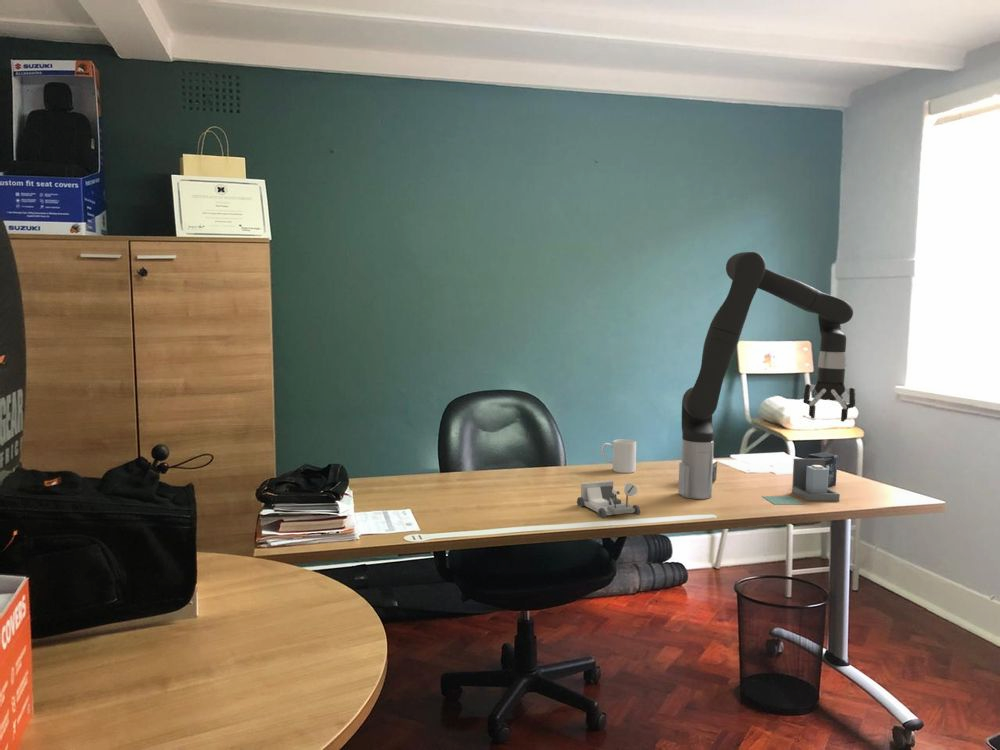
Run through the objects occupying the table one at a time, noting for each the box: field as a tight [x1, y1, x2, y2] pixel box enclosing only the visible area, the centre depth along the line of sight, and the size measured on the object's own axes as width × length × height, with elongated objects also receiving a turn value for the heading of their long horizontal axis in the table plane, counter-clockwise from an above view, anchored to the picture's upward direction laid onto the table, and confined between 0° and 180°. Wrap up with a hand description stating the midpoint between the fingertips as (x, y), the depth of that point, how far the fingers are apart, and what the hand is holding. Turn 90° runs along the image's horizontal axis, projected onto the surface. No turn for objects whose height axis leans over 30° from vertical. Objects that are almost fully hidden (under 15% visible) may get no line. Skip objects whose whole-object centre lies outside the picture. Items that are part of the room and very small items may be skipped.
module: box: [805, 465, 828, 493], centre depth 224 cm, size 4×4×10 cm
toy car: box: [576, 480, 641, 520], centre depth 207 cm, size 18×10×12 cm
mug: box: [601, 438, 637, 474], centre depth 258 cm, size 12×8×10 cm, turn 97°
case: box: [791, 458, 841, 502], centre depth 224 cm, size 11×11×11 cm
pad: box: [761, 495, 805, 506], centre depth 220 cm, size 9×9×1 cm
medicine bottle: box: [712, 447, 718, 485], centre depth 244 cm, size 7×7×12 cm
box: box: [807, 451, 838, 488], centre depth 239 cm, size 8×6×11 cm
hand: (827, 419), depth 225 cm, fingers open, 8 cm apart
